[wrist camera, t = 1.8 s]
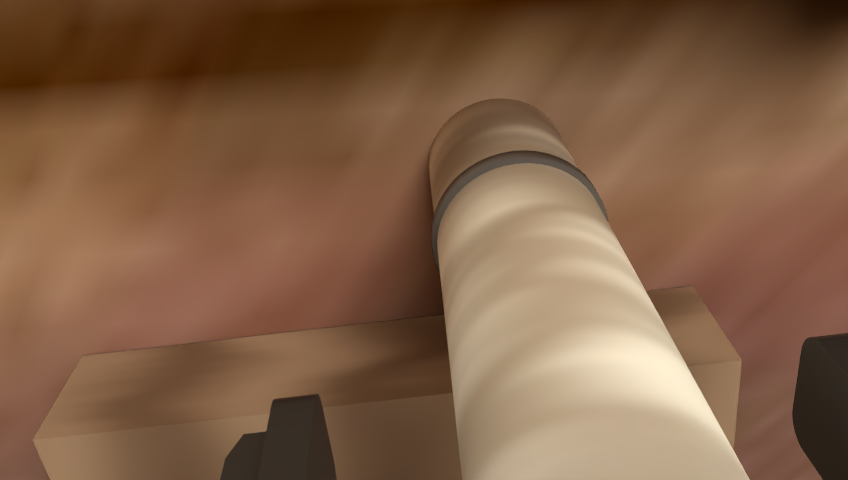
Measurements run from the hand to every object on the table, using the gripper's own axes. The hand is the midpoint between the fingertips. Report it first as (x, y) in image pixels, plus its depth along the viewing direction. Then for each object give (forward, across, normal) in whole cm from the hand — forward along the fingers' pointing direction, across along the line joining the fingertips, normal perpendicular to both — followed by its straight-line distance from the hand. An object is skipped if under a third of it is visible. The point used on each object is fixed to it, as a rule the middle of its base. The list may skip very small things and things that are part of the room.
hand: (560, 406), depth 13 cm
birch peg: (+11, 0, 0) cm, 11 cm away
